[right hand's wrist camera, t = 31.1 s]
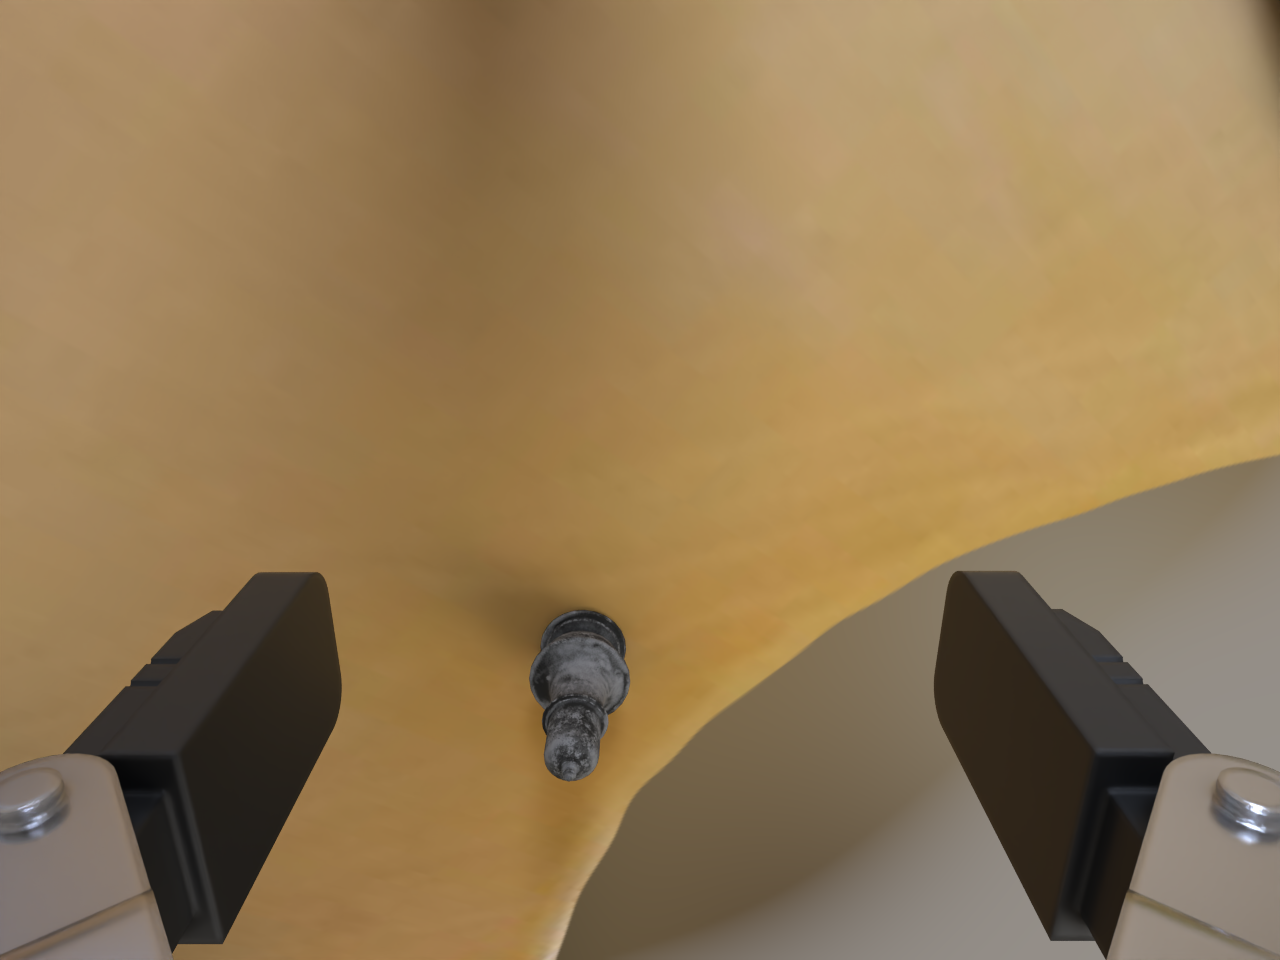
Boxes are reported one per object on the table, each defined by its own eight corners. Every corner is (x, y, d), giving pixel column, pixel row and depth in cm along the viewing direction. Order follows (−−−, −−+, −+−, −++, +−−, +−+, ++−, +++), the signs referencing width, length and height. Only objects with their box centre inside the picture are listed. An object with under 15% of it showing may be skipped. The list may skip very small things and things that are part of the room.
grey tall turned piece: (650, 650, 54) (652, 784, 43) (581, 702, 56) (566, 845, 45) (585, 588, 53) (570, 710, 41) (516, 644, 54) (484, 777, 43)
